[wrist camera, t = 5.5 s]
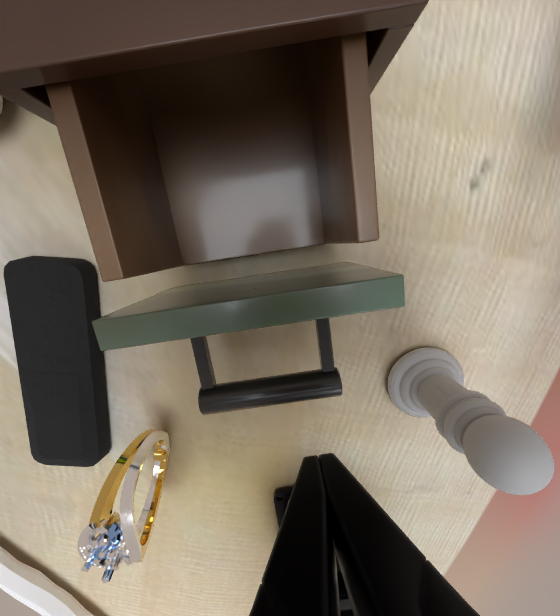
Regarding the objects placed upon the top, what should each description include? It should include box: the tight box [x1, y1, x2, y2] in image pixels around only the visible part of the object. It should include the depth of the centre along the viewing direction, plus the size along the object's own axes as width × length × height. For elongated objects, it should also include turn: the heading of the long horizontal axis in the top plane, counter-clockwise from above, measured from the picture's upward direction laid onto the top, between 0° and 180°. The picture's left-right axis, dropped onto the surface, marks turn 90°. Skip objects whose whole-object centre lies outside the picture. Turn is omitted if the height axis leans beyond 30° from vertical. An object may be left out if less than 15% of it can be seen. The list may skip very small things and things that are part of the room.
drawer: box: [45, 32, 405, 415], centre depth 13 cm, size 18×11×8 cm, turn 8°
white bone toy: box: [0, 546, 94, 616], centre depth 22 cm, size 28×4×3 cm
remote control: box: [4, 256, 110, 467], centre depth 19 cm, size 5×2×15 cm
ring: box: [78, 429, 171, 583], centre depth 17 cm, size 7×3×8 cm, turn 170°
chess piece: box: [388, 348, 554, 495], centre depth 16 cm, size 5×5×9 cm
